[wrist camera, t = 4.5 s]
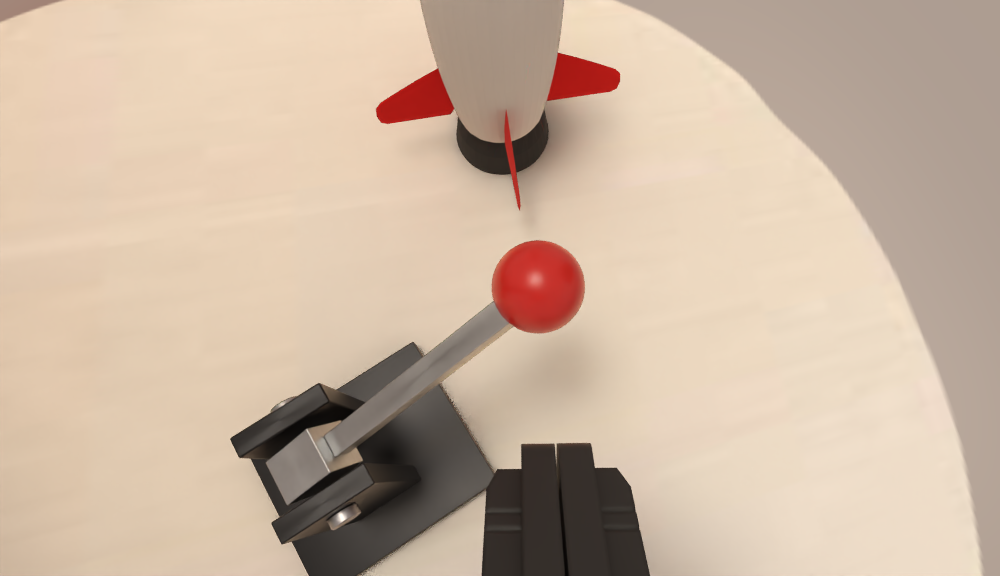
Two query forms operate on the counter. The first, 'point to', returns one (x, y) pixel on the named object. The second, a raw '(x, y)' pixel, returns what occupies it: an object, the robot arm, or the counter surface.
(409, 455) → the bracket
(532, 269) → the lever
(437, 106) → the toy rocket
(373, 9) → the counter surface
